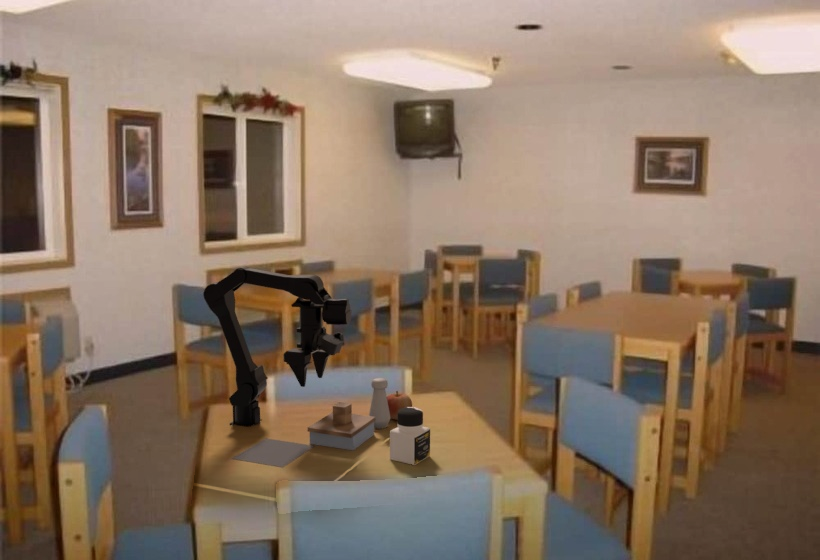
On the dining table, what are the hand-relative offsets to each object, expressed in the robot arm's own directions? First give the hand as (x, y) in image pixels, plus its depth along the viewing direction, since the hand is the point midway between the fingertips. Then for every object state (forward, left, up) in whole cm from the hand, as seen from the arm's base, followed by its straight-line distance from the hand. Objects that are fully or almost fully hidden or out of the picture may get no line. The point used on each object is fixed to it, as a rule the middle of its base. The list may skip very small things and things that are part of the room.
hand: (311, 382), depth 202 cm
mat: (+1, -21, -12) cm, 24 cm away
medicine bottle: (+32, -10, -13) cm, 36 cm away
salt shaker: (+16, +8, -13) cm, 22 cm away
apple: (+18, +16, -13) cm, 27 cm away
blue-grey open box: (+12, -6, -12) cm, 18 cm away
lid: (+12, -6, -8) cm, 16 cm away
